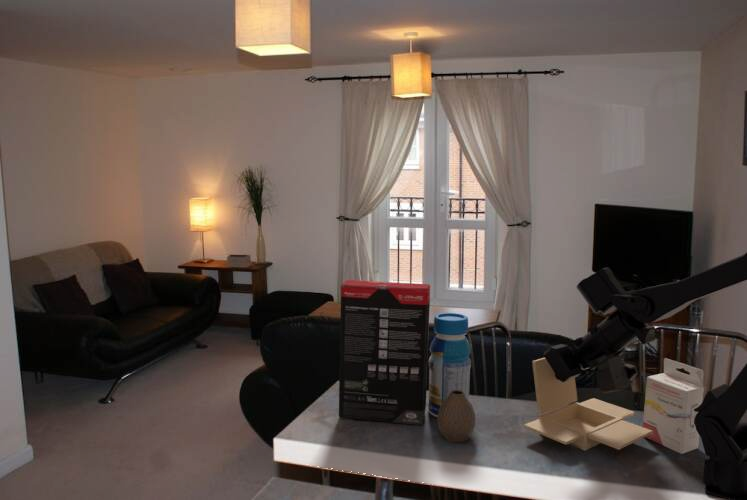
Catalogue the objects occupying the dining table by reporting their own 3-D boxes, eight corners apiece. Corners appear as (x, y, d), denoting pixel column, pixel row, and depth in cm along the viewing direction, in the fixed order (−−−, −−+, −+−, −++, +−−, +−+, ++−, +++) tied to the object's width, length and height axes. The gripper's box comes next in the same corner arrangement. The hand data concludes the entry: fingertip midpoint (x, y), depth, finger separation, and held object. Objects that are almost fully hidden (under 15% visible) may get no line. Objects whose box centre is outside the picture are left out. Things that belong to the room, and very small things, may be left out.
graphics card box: (427, 413, 128) (430, 280, 124) (425, 427, 121) (429, 287, 117) (344, 407, 130) (345, 277, 127) (337, 421, 124) (338, 284, 120)
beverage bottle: (461, 424, 123) (464, 323, 120) (420, 415, 127) (423, 318, 124) (474, 409, 130) (478, 314, 128) (436, 402, 134) (439, 309, 131)
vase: (464, 449, 112) (465, 402, 111) (430, 439, 116) (431, 393, 115) (481, 436, 118) (483, 390, 117) (448, 426, 122) (449, 382, 120)
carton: (666, 437, 118) (667, 422, 118) (599, 472, 104) (600, 455, 104) (590, 410, 130) (591, 396, 130) (521, 438, 117) (521, 422, 116)
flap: (577, 400, 126) (571, 350, 127) (541, 414, 119) (535, 361, 120) (574, 400, 127) (568, 350, 127) (538, 413, 120) (532, 361, 120)
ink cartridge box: (640, 436, 118) (646, 360, 116) (657, 431, 121) (663, 356, 119) (682, 455, 111) (689, 374, 109) (699, 449, 114) (706, 369, 111)
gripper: (610, 385, 103) (550, 427, 114) (667, 363, 115) (608, 403, 125) (571, 328, 108) (517, 373, 119) (630, 313, 120) (576, 355, 130)
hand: (557, 377), depth 123 cm, fingers closed, pressing on flap
